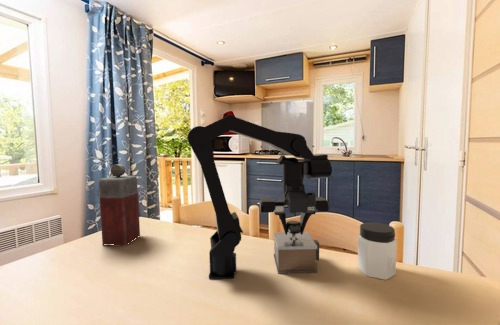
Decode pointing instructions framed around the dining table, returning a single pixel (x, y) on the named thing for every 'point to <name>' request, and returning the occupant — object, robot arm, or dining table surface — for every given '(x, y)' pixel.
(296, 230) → the plunger
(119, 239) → the red canister
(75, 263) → the dining table surface
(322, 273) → the dining table surface
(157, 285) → the dining table surface
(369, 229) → the jar
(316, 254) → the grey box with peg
